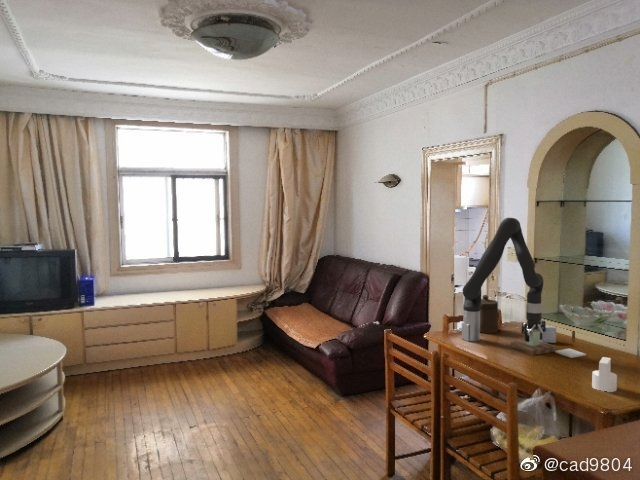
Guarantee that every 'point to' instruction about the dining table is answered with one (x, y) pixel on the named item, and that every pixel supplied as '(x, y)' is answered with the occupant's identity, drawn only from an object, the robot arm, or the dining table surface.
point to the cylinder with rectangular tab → (604, 377)
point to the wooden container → (488, 315)
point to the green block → (534, 338)
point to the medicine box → (549, 335)
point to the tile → (570, 353)
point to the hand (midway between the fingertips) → (533, 340)
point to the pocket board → (533, 347)
